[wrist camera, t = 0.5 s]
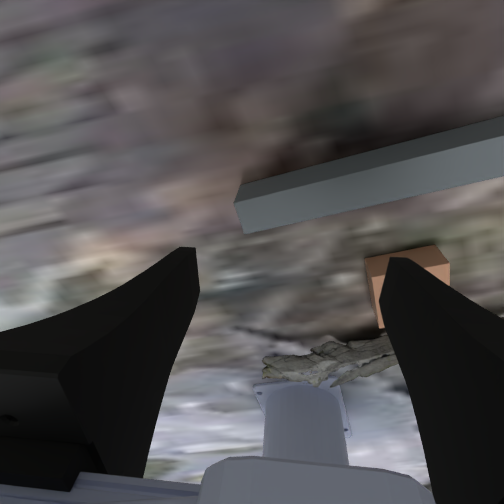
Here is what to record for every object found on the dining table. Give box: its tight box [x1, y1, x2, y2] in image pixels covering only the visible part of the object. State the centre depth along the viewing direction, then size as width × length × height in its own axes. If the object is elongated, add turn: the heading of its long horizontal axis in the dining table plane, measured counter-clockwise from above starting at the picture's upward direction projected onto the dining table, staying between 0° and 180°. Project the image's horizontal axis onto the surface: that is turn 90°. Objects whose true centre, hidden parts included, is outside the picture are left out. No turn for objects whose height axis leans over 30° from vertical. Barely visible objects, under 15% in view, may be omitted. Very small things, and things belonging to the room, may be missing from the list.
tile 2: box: [365, 245, 450, 329], centre depth 22 cm, size 4×4×2 cm
